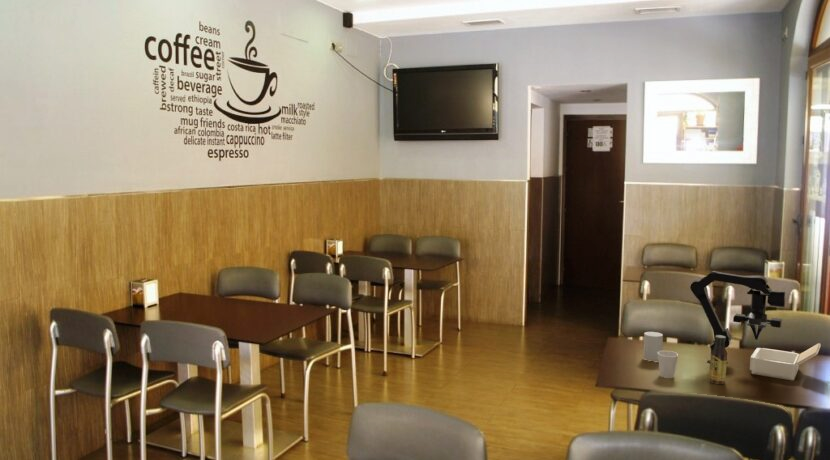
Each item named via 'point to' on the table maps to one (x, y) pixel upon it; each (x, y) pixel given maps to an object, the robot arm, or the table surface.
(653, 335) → the cup
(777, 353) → the carton
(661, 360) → the dixie cup
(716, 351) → the sauce bottle
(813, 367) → the table surface
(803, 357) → the carton flap
